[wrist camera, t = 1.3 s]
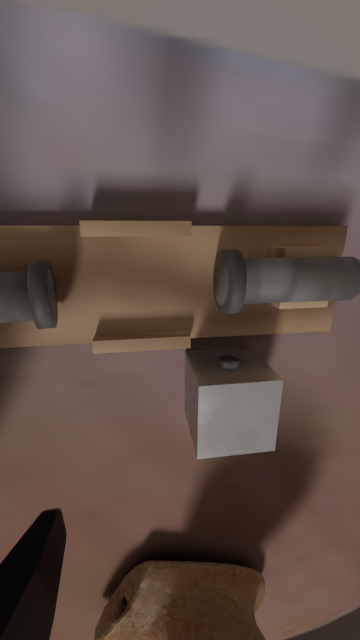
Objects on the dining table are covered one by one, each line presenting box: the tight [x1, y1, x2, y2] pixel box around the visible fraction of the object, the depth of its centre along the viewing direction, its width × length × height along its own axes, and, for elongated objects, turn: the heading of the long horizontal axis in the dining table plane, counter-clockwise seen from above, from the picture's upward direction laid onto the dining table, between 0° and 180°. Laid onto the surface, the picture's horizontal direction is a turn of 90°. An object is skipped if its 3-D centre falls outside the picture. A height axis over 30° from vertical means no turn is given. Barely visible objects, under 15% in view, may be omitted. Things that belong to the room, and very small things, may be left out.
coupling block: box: [185, 348, 283, 459], centre depth 19 cm, size 6×5×5 cm
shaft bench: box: [0, 221, 360, 354], centre depth 15 cm, size 8×27×5 cm, turn 90°
